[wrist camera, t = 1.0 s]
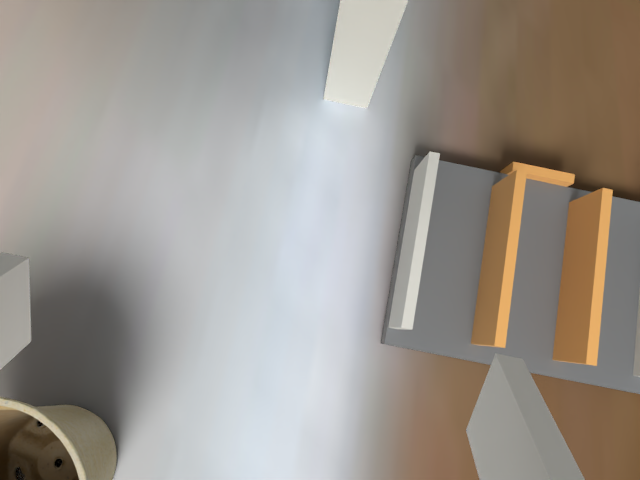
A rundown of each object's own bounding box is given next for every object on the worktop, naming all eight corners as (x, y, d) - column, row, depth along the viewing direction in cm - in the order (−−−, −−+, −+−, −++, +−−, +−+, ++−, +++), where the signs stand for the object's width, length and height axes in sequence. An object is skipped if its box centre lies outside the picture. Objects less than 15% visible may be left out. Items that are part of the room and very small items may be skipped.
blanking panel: (339, 19, 35) (366, -128, 24) (382, 28, 35) (428, -113, 24) (323, 99, 34) (342, -15, 23) (367, 108, 34) (408, 0, 23)
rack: (412, 152, 34) (433, 125, 29) (643, 201, 34) (700, 181, 30) (380, 343, 31) (397, 346, 27) (628, 391, 32) (687, 402, 27)
